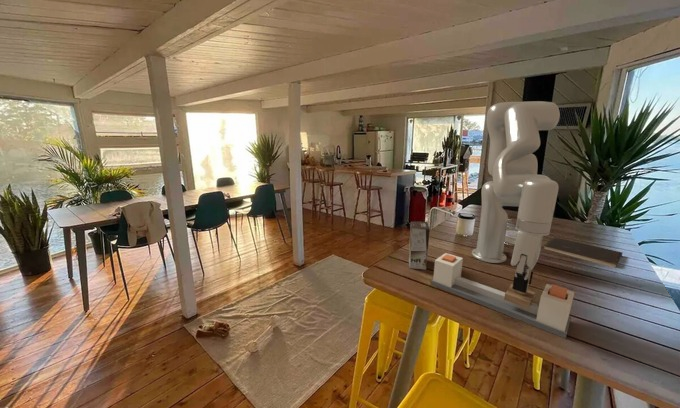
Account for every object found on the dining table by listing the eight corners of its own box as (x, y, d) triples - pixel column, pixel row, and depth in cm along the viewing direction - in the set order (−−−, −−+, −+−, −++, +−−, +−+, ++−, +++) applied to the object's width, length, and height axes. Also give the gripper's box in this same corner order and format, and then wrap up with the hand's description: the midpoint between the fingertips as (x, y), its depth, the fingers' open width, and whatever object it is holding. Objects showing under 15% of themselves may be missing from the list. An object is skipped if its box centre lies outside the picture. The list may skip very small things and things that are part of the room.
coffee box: (426, 270, 103) (430, 229, 99) (409, 268, 104) (411, 228, 100) (424, 259, 111) (427, 221, 107) (408, 257, 113) (410, 220, 109)
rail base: (442, 274, 99) (444, 251, 97) (570, 321, 75) (577, 292, 72) (430, 284, 93) (432, 260, 91) (565, 338, 69) (573, 307, 66)
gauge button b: (550, 295, 74) (552, 284, 74) (565, 300, 72) (567, 288, 71) (547, 300, 72) (550, 288, 71) (563, 305, 70) (566, 293, 69)
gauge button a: (445, 263, 94) (446, 254, 93) (454, 266, 92) (456, 257, 91) (441, 266, 92) (442, 257, 91) (450, 270, 90) (452, 260, 89)
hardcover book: (615, 269, 104) (616, 263, 103) (542, 249, 121) (543, 245, 120) (621, 257, 113) (622, 252, 113) (553, 240, 131) (554, 236, 130)
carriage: (510, 289, 83) (516, 259, 80) (534, 297, 79) (540, 266, 76) (504, 299, 78) (509, 267, 76) (528, 308, 74) (535, 275, 71)
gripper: (524, 215, 81) (514, 271, 86) (507, 230, 70) (497, 293, 74) (555, 221, 76) (543, 280, 81) (543, 238, 64) (530, 305, 69)
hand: (521, 285), depth 77 cm, fingers open, 4 cm apart
